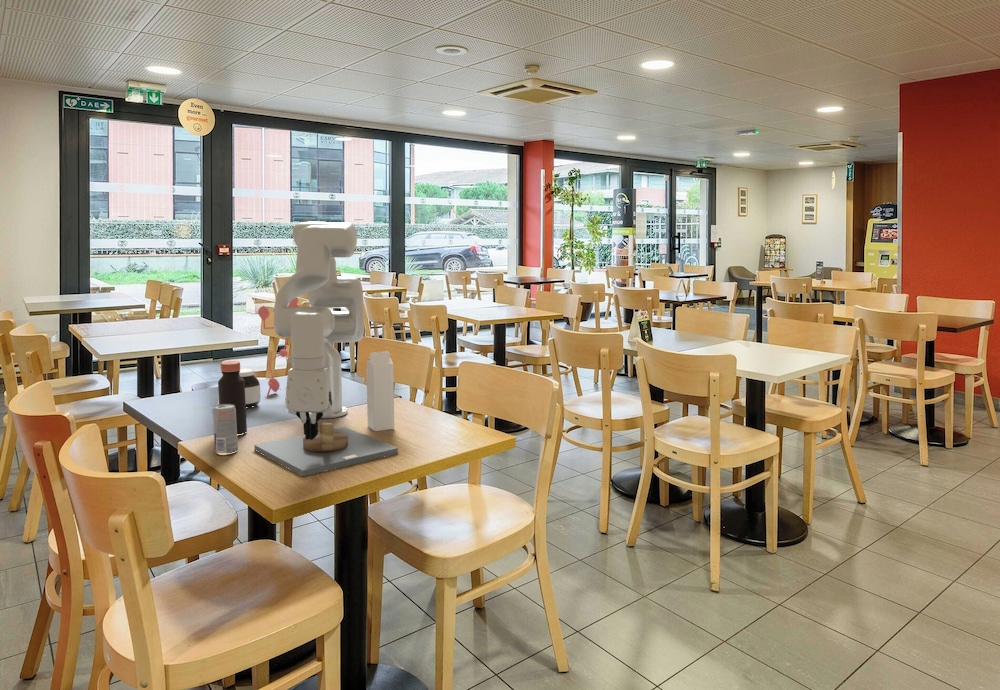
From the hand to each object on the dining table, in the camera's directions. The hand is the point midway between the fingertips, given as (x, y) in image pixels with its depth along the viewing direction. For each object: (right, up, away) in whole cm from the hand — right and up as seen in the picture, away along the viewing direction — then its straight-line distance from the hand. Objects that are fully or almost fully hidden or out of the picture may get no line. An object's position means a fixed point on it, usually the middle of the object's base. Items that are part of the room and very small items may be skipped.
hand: (311, 437), depth 169 cm
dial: (+2, -4, +6) cm, 8 cm away
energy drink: (-24, -5, +8) cm, 25 cm away
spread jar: (-38, +2, +54) cm, 66 cm away
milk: (+11, -2, +32) cm, 34 cm away
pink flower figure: (-26, +5, +72) cm, 76 cm away
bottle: (-28, -2, +24) cm, 37 cm away
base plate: (+1, -5, +9) cm, 10 cm away
